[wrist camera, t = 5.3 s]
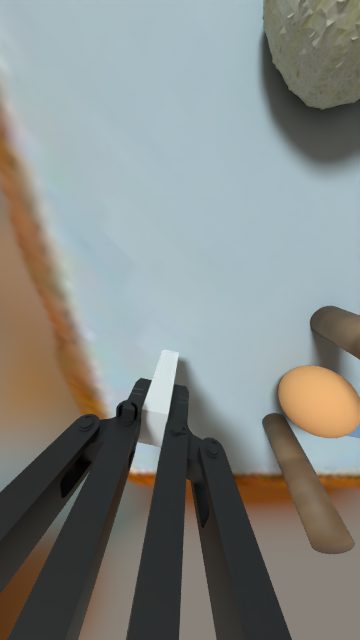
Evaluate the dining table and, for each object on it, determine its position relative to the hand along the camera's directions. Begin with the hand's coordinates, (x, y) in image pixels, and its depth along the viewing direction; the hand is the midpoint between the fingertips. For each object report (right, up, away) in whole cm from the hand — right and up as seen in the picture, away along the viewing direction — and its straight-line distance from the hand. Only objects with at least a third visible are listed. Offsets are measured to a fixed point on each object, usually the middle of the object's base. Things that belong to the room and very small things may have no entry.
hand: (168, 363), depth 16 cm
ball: (+13, -3, -1) cm, 13 cm away
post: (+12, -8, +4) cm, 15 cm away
